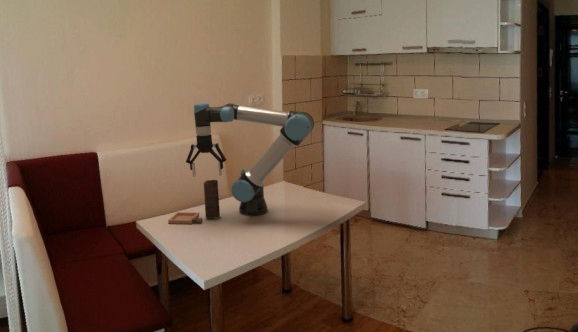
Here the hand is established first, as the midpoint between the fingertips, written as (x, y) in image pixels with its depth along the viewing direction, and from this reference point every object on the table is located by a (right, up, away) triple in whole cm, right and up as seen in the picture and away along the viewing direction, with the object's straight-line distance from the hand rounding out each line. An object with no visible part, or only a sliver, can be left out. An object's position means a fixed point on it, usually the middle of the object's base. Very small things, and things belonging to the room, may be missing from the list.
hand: (207, 175), depth 263 cm
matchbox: (-5, -24, -2) cm, 24 cm away
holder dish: (-12, -23, +3) cm, 26 cm away
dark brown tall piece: (+2, -22, +5) cm, 23 cm away
